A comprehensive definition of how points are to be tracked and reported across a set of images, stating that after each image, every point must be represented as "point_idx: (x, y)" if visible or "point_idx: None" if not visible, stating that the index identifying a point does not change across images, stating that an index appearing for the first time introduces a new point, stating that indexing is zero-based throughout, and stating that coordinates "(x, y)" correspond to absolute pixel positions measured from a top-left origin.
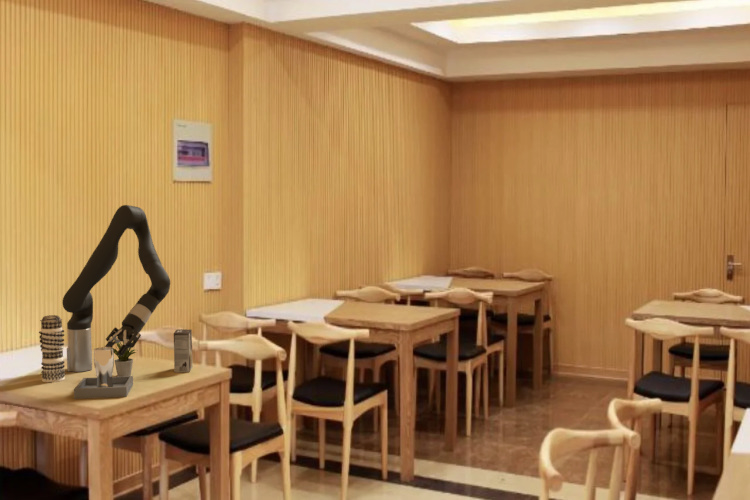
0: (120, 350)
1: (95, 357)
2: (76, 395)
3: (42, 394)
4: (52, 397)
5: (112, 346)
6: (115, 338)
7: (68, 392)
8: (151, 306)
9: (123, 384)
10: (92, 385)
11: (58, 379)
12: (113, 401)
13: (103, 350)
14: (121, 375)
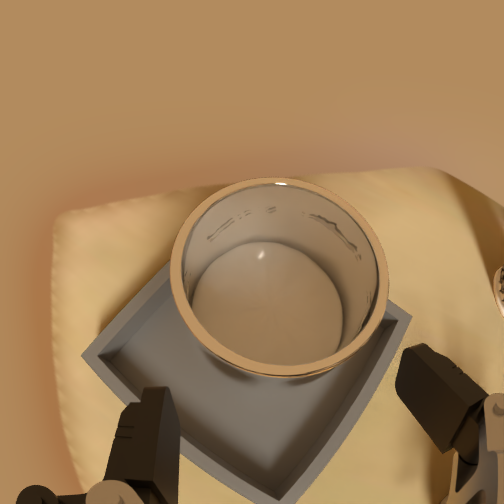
0: (138, 415)
1: (265, 219)
2: None
3: (366, 193)
4: None
5: (437, 446)
6: (477, 489)
7: None
8: None
9: (274, 460)
10: None
11: (501, 298)
12: (86, 290)
13: (192, 214)
14: (446, 500)
